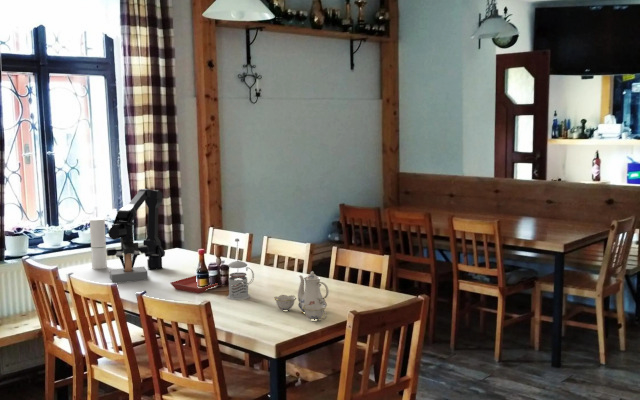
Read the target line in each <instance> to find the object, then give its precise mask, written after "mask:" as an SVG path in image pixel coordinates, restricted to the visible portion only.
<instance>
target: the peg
mask: <svg viewBox="0 0 640 400" xmlns="http://www.w3.org/2000/svg"><path fill="white" fill-rule="evenodd" d="M123 259H124V265H125V272H130V271H132V254H124V253H123Z"/></svg>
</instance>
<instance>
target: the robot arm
mask: <svg viewBox="0 0 640 400" xmlns="http://www.w3.org/2000/svg"><path fill="white" fill-rule="evenodd" d="M163 196H164V194H163V192H162V191H161V190H159V189H150V188H140V189H138V191H137V193H136V194H135V196H134V197H133V198H132V199H131V200H130V202H128V204H127V205H125V206H122V207H121V208H119V210H118V211H117V213H116V216H115V218H114V221H113V224H111V227H110V228H109V230H108V233H107V234H108V237H109V238H110V239H111V240H117V239H120V248H118V249H116V247H108V248H107V247H106V257H110V256H111V257H113V256H115V257H117V258H119V260H120V262H121V265H122V267H123V268H124V269H125V265H124V254H132V268H133V267H134V266H135V263H136V260H137V258H138V256H140V255H141V254H144V256H145V257H146V258H147V257H148V259H147V268H148V269H149V270H150V271H152V270H162V269H163V260H162V259H163V257H165V255H166V251H165V250H164V248H163V247H162V242H161V240H160V238H159V208H160V206H161V205H162V203H163V198H164V197H163ZM143 203H145V204H146V207H147V211H148V213H147V237H146V239H144V240H143V244H142V245H139V242H134V226H135V225H136V223H135V222H134V220H135V219H136V217H137V211H138V210H139V209H140V207H141V206H142V205H143Z"/></svg>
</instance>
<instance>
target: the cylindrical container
mask: <svg viewBox="0 0 640 400" xmlns="http://www.w3.org/2000/svg"><path fill="white" fill-rule="evenodd" d="M105 221H106V219H105V218H104V217H94V218H90V219H89V229H90V231H89V232H90V234H89V235H90V249H91V250H90V251H91V267H92V268H91V269H93V270H101V269H106V268H108V262H107V253H106V249H107V243H106V242H107V241H106V240H107V239H106V238H107V237H106V223H105Z"/></svg>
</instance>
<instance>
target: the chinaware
mask: <svg viewBox="0 0 640 400" xmlns="http://www.w3.org/2000/svg"><path fill="white" fill-rule="evenodd" d="M298 277H299V278H300V283H299V286H298V291H297V297H296V296H295V295H293V294H291V295H286V294H281V295H279V296H274V297H273V298H274V301H275V303H276V305H277V307H278V308H279V309H281V311H282V310H291V308H293V307H294V305H295V301H296V300H298V308H299V309H300V310H301V312H302V311H303V312H305V314H304V315H306V317H307V318H308V319H309V320H311V319H314V320H315V319H318V320H319V319H321V320H325V319H326V318H327V313H326V310H325V309H326V308H327V306H328V304H327V302H326V299H327V297H328V296H329V293H330V292H329V288H328V285H327V284H326V283H325V282H323V281H321V277H320V276H317V275H316V274H315V272H314V271H313V270H312V271H310V273H309V274H308V276H305V277H303V275H299V276H298ZM322 285H323V286H324V287H325V289H326V290H325V291H326V292H325V293H326V294H325V296H323V295H322V292H321V286H322ZM323 315H325V317H324V318H323Z"/></svg>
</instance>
